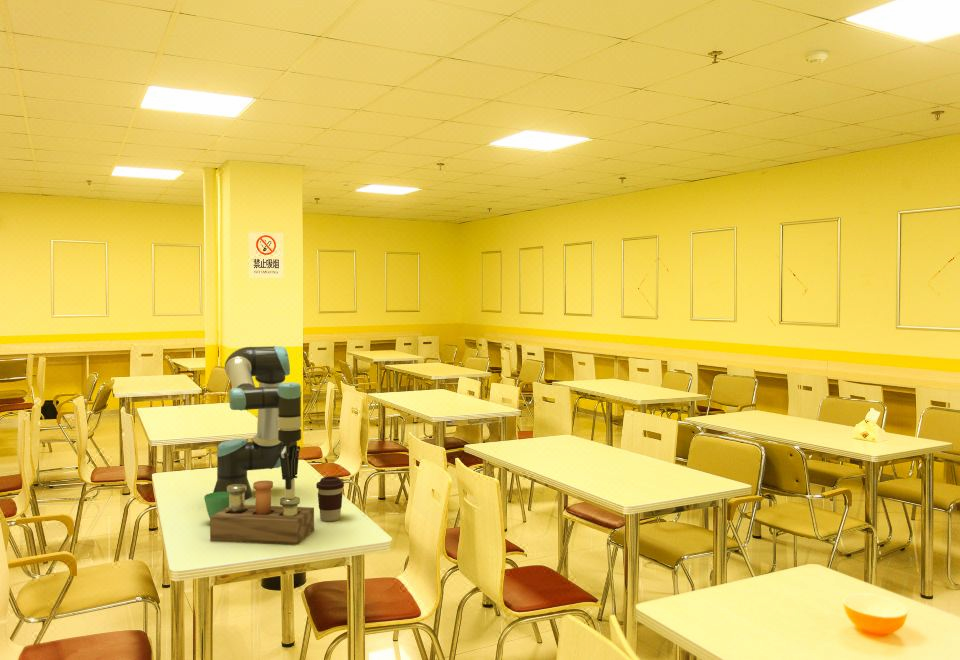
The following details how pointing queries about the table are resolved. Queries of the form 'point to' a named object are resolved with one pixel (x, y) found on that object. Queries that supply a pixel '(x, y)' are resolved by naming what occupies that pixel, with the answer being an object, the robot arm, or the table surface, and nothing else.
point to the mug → (216, 502)
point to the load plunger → (263, 497)
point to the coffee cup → (330, 498)
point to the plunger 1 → (236, 498)
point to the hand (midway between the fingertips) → (290, 498)
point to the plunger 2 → (289, 506)
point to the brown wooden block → (262, 526)
